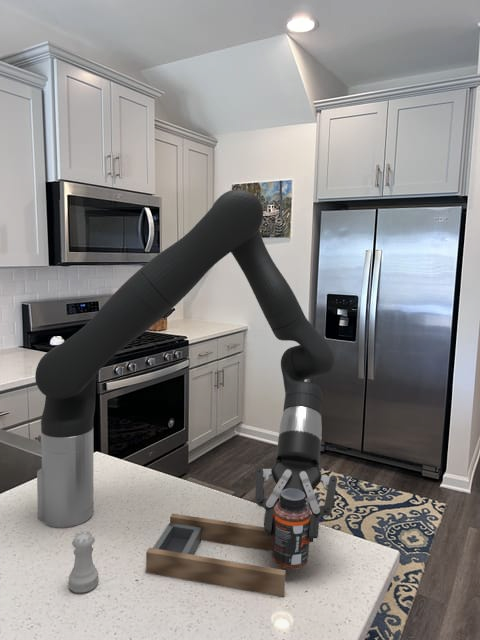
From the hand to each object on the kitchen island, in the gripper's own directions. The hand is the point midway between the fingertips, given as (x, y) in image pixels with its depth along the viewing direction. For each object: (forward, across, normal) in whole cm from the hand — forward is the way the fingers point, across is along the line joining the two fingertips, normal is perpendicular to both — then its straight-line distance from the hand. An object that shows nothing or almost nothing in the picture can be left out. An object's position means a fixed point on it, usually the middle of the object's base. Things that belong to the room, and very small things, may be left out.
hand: (290, 537), depth 75 cm
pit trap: (+4, -19, +6) cm, 20 cm away
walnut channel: (+4, -11, +6) cm, 13 cm away
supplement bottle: (+2, 0, +5) cm, 5 cm away
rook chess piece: (+12, -30, -2) cm, 32 cm away
